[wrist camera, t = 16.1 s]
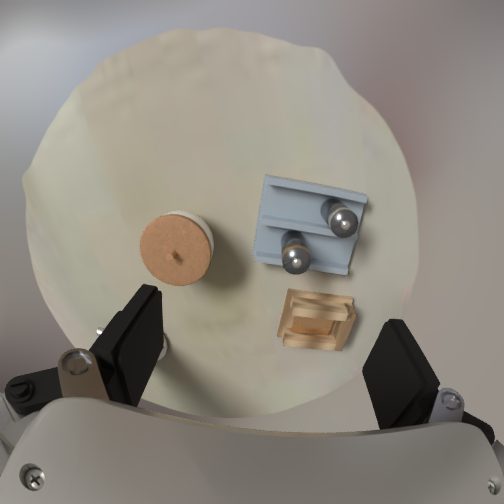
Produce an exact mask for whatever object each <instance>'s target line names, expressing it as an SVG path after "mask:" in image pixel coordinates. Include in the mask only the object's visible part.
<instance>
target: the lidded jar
mask: <svg viewBox="0 0 504 504" xmlns="http://www.w3.org/2000/svg"><path fill="white" fill-rule="evenodd" d="M213 250H214V241H213V235H212V232H211V230H210V228H209V226H208V225H207V223H206V222H205V221H204V220H203V219H202V218H200V217H199V216H198V215H196V214H194V213H191V212H188V211H173V212H169V213H166V214H164V215H162V216H160V217H158V218H156V219H155V220H153V221H152V222H151V223H149V225H148V226H147V227H146V228H145V230H144V231H143V234H142V236H141V240H140V252H141V257H142V259H143V262H144V264H145V266H146V267H147V269H148V270H149V271H150V272H151V273H152V274H153V275H154V276H155V277H156V278H157V279H159V280H161V281H162V282H165V283H167V284H170V285H175V286H185V285H190V284H192V283H195V282H196V281H198V280H199V279H200V278H202V277H203V276H204V274H205V273H206V271H207V270H208V268H209V265H210V262H211V258H212V255H213Z"/></svg>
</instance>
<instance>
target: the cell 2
mask: <svg viewBox="0 0 504 504" xmlns="http://www.w3.org/2000/svg"><path fill="white" fill-rule="evenodd" d="M320 213H321V216H322V218H323V219H324V220H325V222H326V223H327V225H328V226H329V228H330V229H331V231H332V232H333V233H334V234H335V235H336V236H337V237H340V238H348V237H350V236H352V235H353V234H354V233H355V232H356V231H357V229H358V225H359V222H358V218H357V216H356V214H355V213H354V212H353V211H351V210H350V209H349V208H348V207H346V206H345V205H344V204H343V203H342V202H340V201H339V200H338V199H335V198H330V199H327V200H326V201H324V202H323V204H322V205H321V208H320Z"/></svg>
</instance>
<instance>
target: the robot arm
mask: <svg viewBox="0 0 504 504" xmlns="http://www.w3.org/2000/svg"><path fill="white" fill-rule="evenodd" d="M97 335H98V336H99V337H98V338H97V340H96V341H95V342H94V344H93V345H92V347H91V348H90V349H89V351H88V350H86V349H82V348H74V349H70V350H68V351H66V352H64V353H63V354H62V355H61V356H60V358H59V360H58V364H57V367H56V368H51V369H47V370H43V371H39V372H35V373H30V374H26V375H21V376H17V377H15V378H13V379H11V380H10V381H9V382H8V384H7V385H6V388H5V393H3V394H1V393H0V504H504V446H503V445H502V444H501V443H500V442H499V441H498V440H496V441H495V442H494V439H495V436H494V431H493V429H492V427H491V426H490V425H488V424H487V423H485V422H483V421H481V420H480V419H478V418H476V417H474V416H472V415H470V414H469V413H467V412H465V411H464V400H463V398H462V397H461V395H460V394H459V393H458V392H456V391H455V390H453V389H450V388H443V389H441V390H440V391H439V390H438V387H439V385H440V382H439V380H438V379H437V377H436V375H435V373H434V371H433V369H432V368H431V366H430V364H429V363H428V361H427V359H426V357H425V355H424V354H423V352H422V350H421V349H420V347H419V345H418V344H417V342H416V340H415V339H414V337H413V335H412V334H411V332H410V330H409V329H408V327H407V326H406V324H405V323H404V321H403V320H401V319H389V320H388V322H385V324H384V325H383V328H382V330H381V332H380V334H379V336H378V338H377V340H376V342H375V344H374V346H373V348H372V350H371V352H370V354H369V356H368V358H367V360H366V362H365V364H364V366H363V370H362V372H363V376H364V379H365V382H366V385H367V389H368V392H369V395H370V398H371V401H372V405H373V408H374V411H375V415H376V418H377V421H378V425H379V428H380V430H372V431H358V432H338V433H337V432H336V433H301V432H278V431H265V430H255V429H245V428H236V427H230V426H223V425H216V424H210V423H205V422H198V421H194V420H189V419H184V418H179V417H175V416H170V415H166V414H162V413H158V412H154V411H150V410H146V409H142V408H138V407H137V406H138V403H139V401H140V399H141V396H142V394H143V392H144V389H145V387H146V385H147V383H148V380H149V378H150V376H151V374H152V371H153V369H154V367H155V365H156V362H157V361H159V360H161V359H162V358H163V357H164V356H165V354H166V352H167V348H168V344H167V340H166V338H165V336H164V334H163V316H162V292H161V291H158V288H157V287H156V286H152V285H147V284H143V285H142V286H141V287H140V288H139V290H138V291H137V292H136V293H135V295H134V296H133V297H132V299H131V300H130V301H129V302H128V304H127V305H126V306H125V308H124V309H123V310H122V311H118V312H117V313H116V315H115V316H114V317H113V318H112V320H111V321H110V322H109V324H108V325H107V326H106V328H105V329H104V328H101V327H98V329H97Z"/></svg>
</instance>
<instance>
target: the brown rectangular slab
mask: <svg viewBox="0 0 504 504" xmlns="http://www.w3.org/2000/svg"><path fill="white" fill-rule="evenodd" d="M333 321H334V320H328V319H318V318H309V317H301V316H295V317H294V321H293V324H292V328H291V332H299V333H308V334H318V335H328V334H329V331H330V329H331V326H332V323H333Z"/></svg>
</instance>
